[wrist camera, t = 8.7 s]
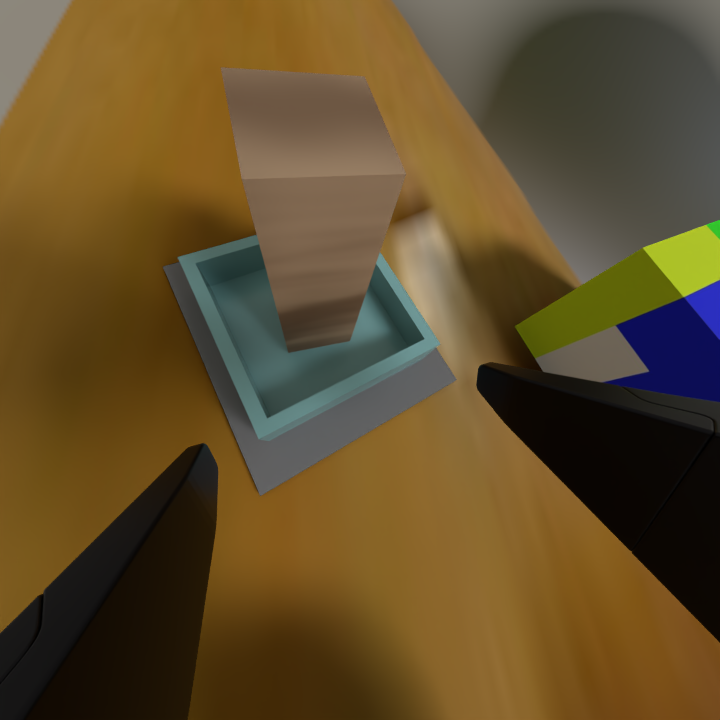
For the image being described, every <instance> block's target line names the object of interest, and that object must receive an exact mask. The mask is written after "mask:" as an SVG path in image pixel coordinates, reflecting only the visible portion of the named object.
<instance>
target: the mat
mask: <svg viewBox="0 0 720 720" xmlns="http://www.w3.org/2000/svg"><path fill="white" fill-rule="evenodd" d="M163 268H164V271H165V273H166V275H167V278H168V280H169V282H170V285H171V287H172V289H173V292H174V294H175V297H176V299H177V301H178V304H179V306H180V308H181V311H182V313H183V315H184V318H185V320H186V322H187V325H188V327H189V329H190V332H191V334H192V337H193V339H194V341H195V344H196V346H197V348H198V351H199V353H200V355H201V358H202V360H203V362H204V365H205V367H206V369H207V372H208V374H209V377H210V379H211V381H212V384H213V386H214V388H215V391H216V393H217V395H218V398H219V400H220V402H221V405H222V407H223V409H224V412H225V414H226V417H227V419H228V421H229V424H230V426H231V428H232V431H233V433H234V435H235V438H236V440H237V442H238V445H239V447H240V449H241V452H242V454H243V457H244V459H245V461H246V464H247V466H248V468H249V471H250V473H251V475H252V478H253V480H254V482H255V485H256V487H257V489H258V492H259V494H260V496H261V495H263V494H264V493H266V492H268V491H270V490H271V489H273V488H275V487H276V486H278V485H280V484H281V483H283V482H285V481H286V480H288V479H290V478H292V477H293V476H295V475H297V474H298V473H300V472H302V471H303V470H305V469H307V468H308V467H310V466H312V465H314V464H315V463H317V462H319V461H320V460H322V459H324V458H325V457H327V456H329V455H330V454H332V453H334V452H335V451H337V450H339V449H341V448H342V447H344V446H346V445H347V444H349V443H351V442H352V441H354V440H356V439H357V438H359V437H361V436H363V435H364V434H366V433H368V432H369V431H371V430H373V429H374V428H376V427H378V426H379V425H381V424H383V423H385V422H386V421H388V420H390V419H391V418H393V417H395V416H396V415H398V414H400V413H401V412H403V411H405V410H406V409H408V408H410V407H412V406H413V405H415V404H417V403H418V402H420V401H422V400H423V399H425V398H427V397H428V396H430V395H432V394H434V393H435V392H437V391H439V390H440V389H442V388H444V387H445V386H447V385H449V384H450V383H452V382H454V381H456V380H457V379H456V378H455V376H454V375H453V373H452V372H451V370H450V369H449V367H448V366H447V364H446V363H445V361H444V360H443V358H442V356H441V355H440V353H439V352H438V350H437V349H436V348H435V349H434V350H433V351H432V352H430V353H429V354H428V355H427V356H426V357H424V358H423V359H422V360H420V361H418V362H417V363H415V364H413V365H411V366H409V367H407V368H405V369H403V370H402V371H400V372H398V373H396V374H394V375H392V376H390V377H388V378H387V379H385V380H383V381H381V382H379V383H377V384H375V385H373V386H371V387H370V388H368V389H366V390H364V391H362V392H360V393H358V394H356V395H355V396H353V397H351V398H349V399H347V400H345V401H343V402H341V403H340V404H338V405H336V406H334V407H332V408H330V409H328V410H326V411H325V412H323V413H321V414H319V415H317V416H315V417H313V418H311V419H309V420H308V421H306V422H304V423H302V424H300V425H298V426H296V427H294V428H293V429H291V430H289V431H287V432H285V433H283V434H281V435H279V436H278V437H276V438H274V439H272V440H270V441H265V440H259V439H258V437H257V434H256V432H255V430H254V428H253V425H252V423H251V421H250V419H249V416H248V414H247V412H246V410H245V407H244V405H243V403H242V401H241V398H240V396H239V394H238V392H237V389H236V387H235V385H234V383H233V380H232V378H231V376H230V374H229V371H228V369H227V367H226V365H225V362H224V360H223V358H222V356H221V353H220V351H219V349H218V347H217V344H216V342H215V340H214V338H213V335H212V333H211V331H210V329H209V326H208V324H207V322H206V320H205V317H204V315H203V313H202V311H201V308H200V306H199V304H198V302H197V299H196V297H195V295H194V293H193V290H192V288H191V286H190V284H189V281H188V279H187V277H186V275H185V272H184V270H183V268H182V266H181V264H180V262H177V263H174V264H171V265H167V266H164V267H163Z"/></svg>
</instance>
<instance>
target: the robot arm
mask: <svg viewBox="0 0 720 720" xmlns="http://www.w3.org/2000/svg"><path fill="white" fill-rule="evenodd" d="M476 385H477V389H478V391H479V392H480V394H481V395H482V396H483V397H484V399H485V400H486V401H487V402H488V403H489V405H490V406H491V407H492V408H493V410H494V411H495V412H496V413H497V414H498V416H499V417H500V418H501V419H502V420H503V422H504V423H505V424H506V425H507V426H508V427H509V428H510V429H511V430H512V431H513V432H514V433H515V434H516V435H517V436H518V437H519V438H520V439H521V440H522V441H523V442H524V443H525V445H526V446H527V447H528V448H529V449H530V450H531V451H532V452H533V453H534V454H535V455H536V456H537V457H538V458H539V459H540V460H541V461H542V462H543V463H544V464H545V465H546V466H547V467H548V468H549V469H550V470H551V471H552V472H553V473H554V474H555V475H556V476H557V477H558V478H559V479H560V480H561V481H562V482H563V483H564V484H565V485H566V486H567V487H568V488H569V489H570V490H571V491H572V492H573V493H574V494H575V495H576V496H577V497H578V498H579V499H580V500H581V501H582V502H583V503H584V505H585V506H586V507H587V508H588V509H589V510H590V511H591V512H592V513H593V514H594V515H595V516H596V517H597V518H598V519H599V520H600V521H601V522H602V523H603V524H604V525H605V526H606V527H607V528H608V529H609V530H610V531H611V532H612V533H613V534H614V535H615V536H616V537H617V538H618V539H619V540H620V541H621V542H622V543H623V544H624V545H625V546H626V547H627V548H628V549H629V550H630V551H632V554H633V555H634V556H635V557H636V558H637V559H638V560H639V561H640V562H641V563H642V564H643V565H644V566H645V567H646V568H647V569H648V570H649V571H650V572H651V573H652V574H653V575H654V576H655V577H656V578H657V579H658V580H659V581H660V582H661V583H662V584H663V585H664V586H665V587H666V588H667V589H668V590H669V591H670V592H671V593H672V594H673V595H674V596H675V597H676V598H677V599H678V600H679V602H680V603H681V604H682V605H683V606H684V607H685V608H686V609H687V610H688V611H689V612H690V613H691V614H692V615H693V616H694V617H695V618H696V619H697V620H698V621H699V622H700V623H701V624H702V625H703V626H704V627H705V628H706V629H707V630H708V631H709V632H710V633H711V634H712V635H713V636H714V637H715V638H716V639H717V640H718V641H719V642H720V402H715V401H709V400H702V399H695V398H689V397H683V396H676V395H670V394H664V393H658V392H652V391H646V390H641V389H635V388H630V387H624V386H622V387H620V386H618V385H613V384H608V383H602V382H597V381H591V380H586V379H580V378H575V377H569V376H564V375H558V374H553V373H547V372H542V371H536V370H531V369H526V368H520V367H515V366H509V365H504V364H498V363H493V362H489V363H486V364H482V365H480V366H479V368H478V375H477V384H476ZM217 492H218V467H217V463H216V461H215V459H214V457H213V455H212V453H211V452H210V450H209V448H208V446H207V445H206V444H204V443H202V444H198V445H195V446H191V447H188V448H187V449H186V450H185V451H184V452H183V453H182V454H181V455H180V456H179V457H178V458H177V459H176V460H175V461H174V462H173V463H172V464H171V465H170V466H169V467H168V468H167V469H166V470H165V471H164V472H163V473H162V474H161V475H160V476H159V477H158V478H157V479H156V480H155V481H154V482H153V483H152V484H151V485H150V486H149V487H148V488H147V489H146V490H145V491H144V492H143V493H142V494H141V495H140V496H139V497H138V498H136V499H135V500H134V501H133V502H132V503H131V504H130V505H129V506H128V507H127V508H126V509H125V510H124V511H123V512H122V513H121V514H120V515H119V516H118V517H117V518H116V519H115V520H114V521H113V522H112V523H111V524H110V525H109V526H108V527H107V528H106V529H105V530H104V531H103V532H102V533H101V534H100V535H99V536H98V537H97V538H96V539H95V540H94V541H93V542H92V543H91V544H90V545H89V546H88V547H87V548H86V549H85V550H84V551H83V552H82V553H81V554H80V555H79V556H78V557H77V558H76V559H75V560H74V561H73V562H72V563H71V564H70V565H69V566H68V567H67V568H66V569H65V570H64V571H63V572H62V573H61V574H60V575H59V576H58V577H57V578H56V579H55V580H54V581H53V582H52V583H51V584H50V585H49V586H48V587H47V588H46V589H45V590H44V593H43V594H41V595H39V596H38V597H37V598H36V599H35V600H34V601H33V602H32V603H31V604H30V605H29V606H28V607H27V608H26V609H25V610H23V611H22V612H21V613H20V614H19V615H18V616H17V617H16V618H15V619H14V620H13V621H12V622H11V623H10V624H9V625H8V626H7V627H6V628H5V629H4V630H3V631H2V632H1V633H0V720H188V713H189V706H190V700H191V693H192V686H193V680H194V673H195V666H196V659H197V653H198V646H199V639H200V633H201V626H202V619H203V612H204V606H205V599H206V592H207V586H208V579H209V572H210V566H211V559H212V552H213V545H214V539H215V531H216V520H217Z"/></svg>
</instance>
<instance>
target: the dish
mask: <svg viewBox="0 0 720 720" xmlns="http://www.w3.org/2000/svg"><path fill="white" fill-rule="evenodd" d="M178 259H179V261H180V264H181V266H182V268H183V270H184V272H185V275H186V277H187V279H188V281H189V284H190V286H191V288H192V290H193V293H194V295H195V297H196V299H197V302H198V304H199V306H200V308H201V311H202V313H203V315H204V317H205V320H206V322H207V324H208V326H209V329H210V331H211V333H212V335H213V338H214V340H215V342H216V344H217V347H218V349H219V351H220V353H221V356H222V358H223V360H224V362H225V365H226V367H227V369H228V371H229V374H230V376H231V378H232V380H233V383H234V385H235V387H236V389H237V392H238V394H239V396H240V398H241V401H242V403H243V405H244V407H245V410H246V412H247V414H248V416H249V419H250V421H251V423H252V425H253V428H254V430H255V432H256V434H257V437H258V439H259V440H265V441H270V440H272V439H274V438H276V437H278V436H279V435H281V434H283V433H285V432H287V431H289V430H291V429H293V428H294V427H296V426H298V425H300V424H302V423H304V422H306V421H308V420H309V419H311V418H313V417H315V416H317V415H319V414H321V413H323V412H325V411H326V410H328V409H330V408H332V407H334V406H336V405H338V404H340V403H341V402H343V401H345V400H347V399H349V398H351V397H353V396H355V395H356V394H358V393H360V392H362V391H364V390H366V389H368V388H370V387H371V386H373V385H375V384H377V383H379V382H381V381H383V380H385V379H387V378H388V377H390V376H392V375H394V374H396V373H398V372H400V371H402V370H403V369H405V368H407V367H409V366H411V365H413V364H415V363H417V362H418V361H420V360H422V359H423V358H424V357H426V356H427V355H428V354H429V353H430V352H432V351H433V350H434V349H435V348H436V347H438V346H439V345H440V343H439V341H438V340H437V338H436V337H435V335H434V334H433V332H432V330H431V329H430V327H429V326H428V324H427V323H426V321H425V320H424V318H423V317H422V315H421V314H420V312H419V311H418V309H417V308H416V306H415V305H414V303H413V302H412V300H411V299H410V297H409V295H408V294H407V292H406V291H405V289H404V288H403V286H402V285H401V283H400V282H399V280H398V279H397V277H396V276H395V274H394V273H393V271H392V270H391V268H390V267H389V265H388V264H387V262H386V260H385V259H384V257H383V256H382V254H381V253H379V256H378V259H377V262H376V265H375V268H374V271H373V274H372V277H371V280H370V283H369V286H368V289H367V292H366V295H365V298H364V301H363V304H362V307H361V310H360V313H359V316H358V319H357V322H356V325H355V328H354V331H353V334H352V337H351V340H350V341H348V342H343V343H338V344H333V345H327V346H322V347H317V348H312V349H306V350H301V351H296V352H291V353H288V350H287V346H286V342H285V339H284V335H283V331H282V327H281V324H280V320H279V316H278V312H277V309H276V305H275V301H274V297H273V294H272V290H271V286H270V282H269V279H268V275H267V271H266V267H265V264H264V260H263V256H262V252H261V249H260V245H259V241H258V237H257V235H254V236H251V237H247V238H244V239H240V240H237V241H233V242H229V243H226V244H222V245H219V246H215V247H212V248H208V249H205V250H201V251H198V252H194V253H191V254H187V255H183V256H180V257H178Z"/></svg>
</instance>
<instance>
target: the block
mask: <svg viewBox="0 0 720 720" xmlns="http://www.w3.org/2000/svg"><path fill="white" fill-rule="evenodd" d="M221 71H222V76H223V81H224V87H225V92H226V97H227V103H228V108H229V113H230V118H231V124H232V129H233V134H234V140H235V145H236V150H237V155H238V161H239V166H240V171H241V177H242V181H243V185H244V189H245V192H246V196H247V200H248V204H249V207H250V211H251V215H252V219H253V222H254V226H255V230H256V234H257V237H258V241H259V245H260V249H261V252H262V256H263V260H264V264H265V267H266V271H267V275H268V279H269V282H270V286H271V290H272V294H273V297H274V301H275V305H276V309H277V312H278V316H279V320H280V324H281V327H282V331H283V335H284V339H285V342H286V346H287V350H288V353H291V352H296V351H301V350H306V349H312V348H317V347H322V346H327V345H333V344H338V343H343V342H348V341H350V340H351V337H352V334H353V331H354V328H355V325H356V322H357V319H358V316H359V313H360V310H361V307H362V304H363V301H364V298H365V295H366V292H367V289H368V286H369V283H370V280H371V277H372V274H373V271H374V268H375V265H376V262H377V259H378V256H379V253H380V250H381V247H382V244H383V241H384V238H385V235H386V232H387V229H388V226H389V223H390V220H391V217H392V214H393V211H394V208H395V205H396V202H397V199H398V196H399V193H400V190H401V187H402V185H403V182H404V179H405V176H406V173H405V170H404V168H403V166H402V163H401V161H400V159H399V156H398V154H397V152H396V149H395V147H394V145H393V142H392V140H391V138H390V135H389V133H388V130H387V128H386V126H385V123H384V121H383V119H382V116H381V114H380V112H379V109H378V107H377V105H376V102H375V100H374V98H373V95H372V93H371V91H370V88H369V86H368V84H367V81H366V79H365V77H363V76H347V75H331V74H315V73H300V72H284V71H268V70H252V69H237V68H221Z"/></svg>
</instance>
